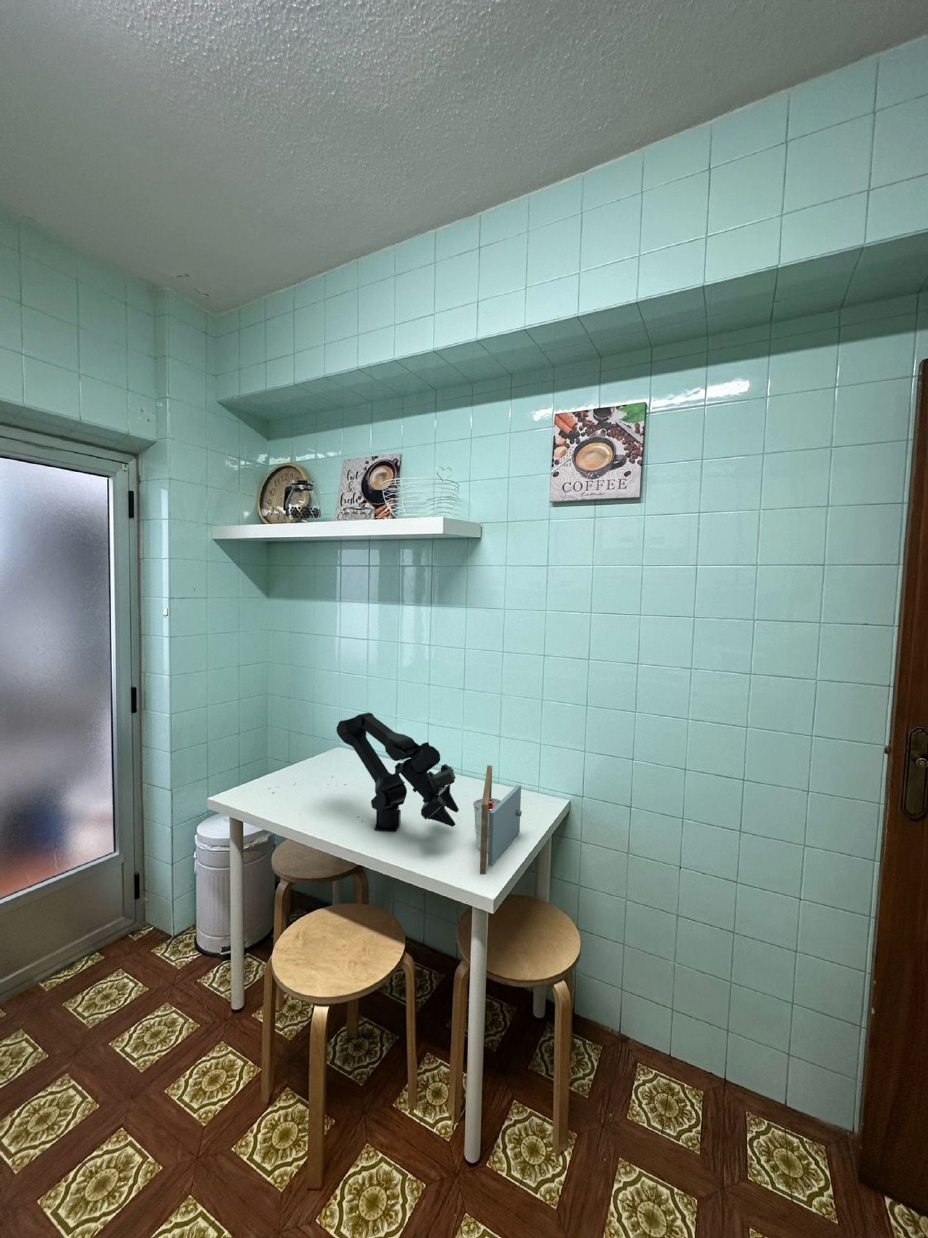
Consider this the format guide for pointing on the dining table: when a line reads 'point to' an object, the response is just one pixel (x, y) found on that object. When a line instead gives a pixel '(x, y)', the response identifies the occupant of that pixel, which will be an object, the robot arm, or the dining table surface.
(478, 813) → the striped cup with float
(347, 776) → the dining table surface
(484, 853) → the door frame
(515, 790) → the door
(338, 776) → the dining table surface
